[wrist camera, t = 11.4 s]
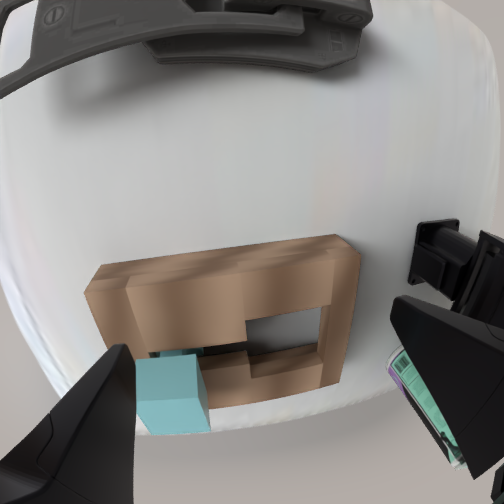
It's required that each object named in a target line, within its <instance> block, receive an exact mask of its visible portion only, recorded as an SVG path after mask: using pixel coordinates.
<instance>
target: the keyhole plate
mask: <svg viewBox="0 0 504 504" xmlns="http://www.w3.org/2000/svg"><path fill="white" fill-rule="evenodd" d="M360 262H361V254H360V253H359V252H357V251H356V250H355V249H354V248H352V247H351V246H350V245H349V244H347V243H346V242H345V241H344V240H342V239H341V238H340V237H338V236H337V235H336V234H333V235H324V236H316V237H308V238H300V239H292V240H285V241H277V242H269V243H261V244H253V245H246V246H238V247H230V248H223V249H215V250H207V251H200V252H192V253H185V254H177V255H170V256H163V257H155V258H148V259H141V260H133V261H126V262H119V263H112V264H105V265H101V266H100V268H99V269H98V271H97V272H96V274H95V275H94V277H93V278H92V280H91V282H90V283H89V285H88V286H87V288H86V290H85V291H84V295H85V297H86V300H87V303H88V305H89V308H90V310H91V313H92V315H93V318H94V320H95V322H96V325H97V327H98V329H99V331H100V334H101V336H102V338H103V340H104V342H105V345H106V347H107V349H109V348H110V347H111V346H112V345H113V344H120V343H125V344H127V346H128V348H129V350H130V352H131V354H132V357H133V359H134V361H135V362H136V359H149V358H157V355H156V353H155V352H160V351H171V350H181V349H190V348H199V347H207V346H214V345H222V344H229V343H235V342H242V341H247V335H246V325H245V320H251V319H257V318H263V317H269V316H275V315H280V314H286V313H291V312H297V311H302V310H307V309H312V308H317V307H322V308H321V319H320V329H319V338H318V343H315V344H311V345H306V346H302V347H297V348H292V349H288V350H283V351H278V352H272V353H267V354H262V355H256V356H250V357H248V356H247V352H246V351H240V352H234V353H227V354H220V355H212V356H204V357H197V360H198V364H199V367H200V371H201V374H202V377H203V381H204V384H205V387H206V391H207V399H208V409H216V408H224V407H231V406H238V405H244V404H250V403H256V402H262V401H267V400H272V399H277V398H281V397H286V396H290V395H295V394H299V393H303V392H307V391H311V390H315V389H319V388H322V387H326V386H329V385H333V384H336V383H339V381H340V377H341V372H342V368H343V364H344V359H345V354H346V350H347V345H348V340H349V335H350V329H351V324H352V318H353V312H354V306H355V300H356V293H357V286H358V278H359V270H360Z"/></svg>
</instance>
